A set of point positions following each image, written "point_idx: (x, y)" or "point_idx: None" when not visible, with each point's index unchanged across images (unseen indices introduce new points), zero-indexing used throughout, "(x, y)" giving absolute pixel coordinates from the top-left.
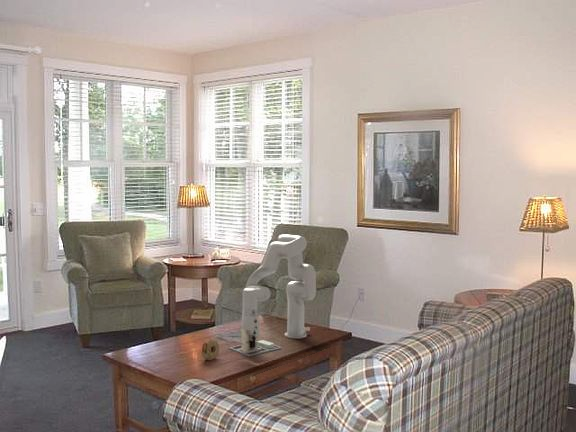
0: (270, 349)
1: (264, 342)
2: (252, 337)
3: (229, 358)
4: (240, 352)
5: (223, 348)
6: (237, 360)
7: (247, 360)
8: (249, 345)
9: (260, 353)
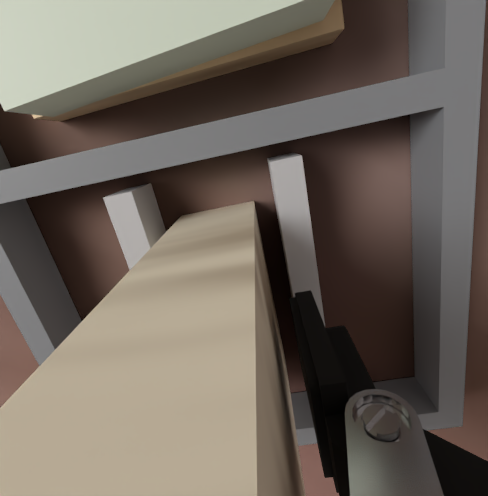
0: (451, 28)
1: None
2: (289, 475)
3: (314, 491)
4: (304, 439)
5: None
6: None
7: None
8: (284, 384)
9: (460, 260)
